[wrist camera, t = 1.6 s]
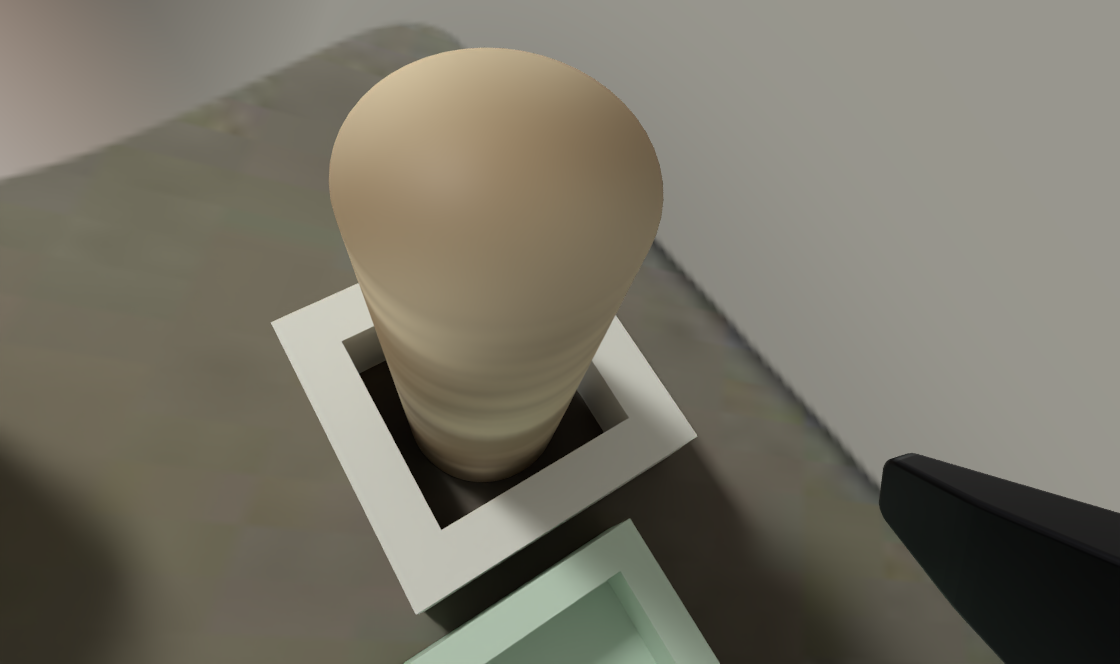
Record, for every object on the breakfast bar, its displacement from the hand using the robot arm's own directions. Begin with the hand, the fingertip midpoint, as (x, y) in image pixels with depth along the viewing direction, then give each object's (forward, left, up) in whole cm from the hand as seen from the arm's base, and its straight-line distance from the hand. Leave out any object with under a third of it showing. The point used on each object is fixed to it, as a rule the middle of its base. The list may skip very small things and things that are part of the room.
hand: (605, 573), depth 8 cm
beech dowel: (+6, -2, -12) cm, 13 cm away
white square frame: (+6, -2, -12) cm, 13 cm away
